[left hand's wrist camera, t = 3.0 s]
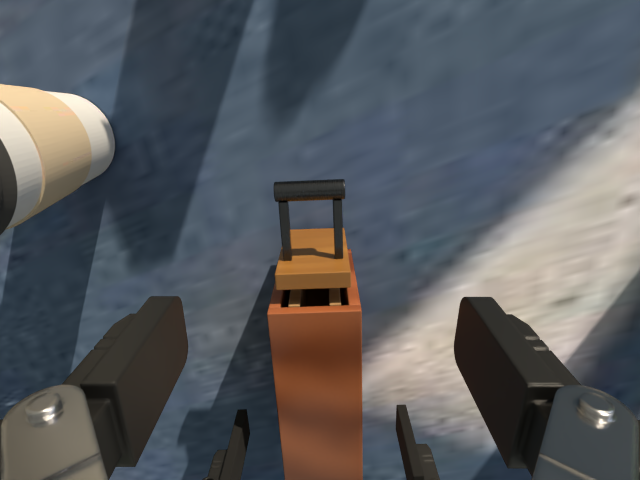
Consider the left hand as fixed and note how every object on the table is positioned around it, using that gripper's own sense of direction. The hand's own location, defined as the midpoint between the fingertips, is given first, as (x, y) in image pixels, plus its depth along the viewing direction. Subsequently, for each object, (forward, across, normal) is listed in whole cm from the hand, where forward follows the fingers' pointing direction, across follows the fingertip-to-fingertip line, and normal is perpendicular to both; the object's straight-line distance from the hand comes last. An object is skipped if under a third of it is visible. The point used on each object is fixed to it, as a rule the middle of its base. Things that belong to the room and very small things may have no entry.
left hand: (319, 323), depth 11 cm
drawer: (+22, 0, +10) cm, 24 cm away
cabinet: (+23, 0, +16) cm, 28 cm away
